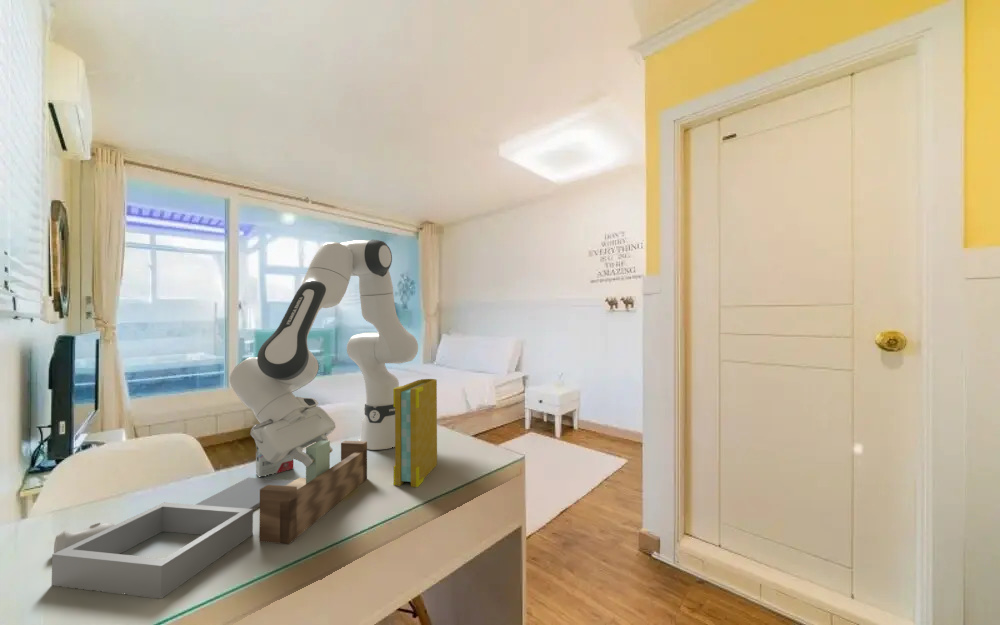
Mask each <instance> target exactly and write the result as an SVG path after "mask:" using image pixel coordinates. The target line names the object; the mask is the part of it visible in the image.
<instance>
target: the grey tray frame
mask: <svg viewBox="0 0 1000 625" xmlns="http://www.w3.org/2000/svg"><path fill="white" fill-rule="evenodd" d="M253 519H254V510H253V509H246V508H233V507H219V506H206V505H195V504H189V503H177V502H176V503H175V502H163V503H160V504H158V505H156V506H153V507H152V508H150V509H147V510H145V511H143V512H140V513H139V514H136V515H134V516H133V517H130V518H128V519H125V520H124V521H121V522H119V523H117V524H115V526H112V527H110V528H108V529H106V530H104V531H102V532H99V533H97V534H95V535H93V536H91V537H89V538H87V539H84V540H82V541H80V542H78V543H76V544H74V545H71V546H69V547H67V548H65V549H63V550H61V551H58V552H56V553H54V552H53V553H52V555H51V586H52V585H54V586H53V587H59V586H62V587H61V588H67V587H71V588H70V589H75V588H78V589H77V590H83V589H84V591H85V590H86V591H92V590H98V591H97V592H100V591H102V592H101V593H109V594H118V595H125V594H129V595H128V596H134V597H140V598H141V597H144V598H151V599H157V598H159V599H158V600H161V599H160V598H162V597H163V598H164V597H166V596H167V595H169V594H170V593H172V592H173V591H175V590H176V589H177V588H179V587H180V586H181V585H183V584H185V583H186V582H187V581H189V580H190V579H192V578H193V577H194V576H196V575H197V574H199V573H200V572H201V571H202V570H204V569H206V568H207V567H208V566H210V565H211V564H212V563H214V562H216V561H217V560H218V559H220V558H221V557H222V556H224V555H225V554H227V553H228V552H230V551H232V549H234V548H235V547H237V546H238V545H239V544H241V543H242V542H244V541H245V540H247V539H248V538H249V537H251V536H252V535H253V528H254V520H253ZM163 532H164V533H165V532H168V533H178V534H179V533H180V534H190V535H199V536H198V537H197V538H196V539H194V540H192V541H190V542H189V543H187V544H186V545H184V546H183V547H181V548H179V549H177V550H176V551H174V552H173V553H170V554H169V555H167V556H166V557H164V558H163V557H162V558H161V557H160V558H158V557H151V556H150V557H149V556H141V555H131V554H122V553H124V552H127V551H128V550H130V549H131V548H133V547H135V546H137V545H139V544H141V543H143V542H145V541H146V540H149V539H150V538H153V537H154V536H157V535H158V534H159V533H163ZM55 585H56V586H55ZM122 593H123V594H122ZM124 593H125V594H124ZM163 598H162V599H163Z"/></svg>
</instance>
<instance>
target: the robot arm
mask: <svg viewBox="0 0 1000 625" xmlns="http://www.w3.org/2000/svg"><path fill="white" fill-rule="evenodd" d="M392 254H393V253H392V251H391V249H390V247H389V245H387V243H386V242H385V241H382V240H379V239H369V240H368V239H354V240H350V241H349V240H348V241H342V242H338V241H337V242H336V241H330V242H325V243H323V244H322V245H321V246H320V247H319V249H318V250H317V252H316V254H315V255H314V256H313V258H312V260H311V262H310V264H309V266H308V269H307V271H306V273H305V276H304V277H303V278H304V279H303V281H302V283H301V285H300V287H299V288H298V290H297V291H296V292H295V294H294V296H293V298H292V299H291V302H290V304H289V305H288V308H287V310H286V312H285V314H284V316H283V317H282V319H281V321H280V323H279V325H278V327H277V329H276V330H275V331H274V332H273V333H272V334H271V336H269V337H268V338H267V339H266V340H265V342H264V343H262V345H261V346H260V348H259V350H258V353H257V356H256V357H255V356H251V357H248V358H245V359H244V360H242V361H241V362H240V363H238V364H237V365H236V366H235V367H234V369H233V370H232V371H231V373H230V376H229V383H230V387H231V388H232V390H233V391H234V393H235V395H236V396H237V397H238V398H239V399H240V401H241V402H242V403H243V404H244V406H245V407H247V408H248V409H250V410H251V411H252V412H253V414H254V417H255V418H256V420H257V421H258V422H259V423H256V424H254V425H253V426H252V428H251V429H250V432H249V433H250V436H251V438H252V439H254V442H255V446H256V445H257V447H258V449H259V450H260V452H261V453H262V455H263V456H264V458H265V459H266V460H267V461H268V462H271V463H275V462H277V461H279V460H281V459H283V458H285V457H287V456H289V455H290V456H291V457H292V458H293V460H295V461H298V462H300V463H302V464H303V465H304V466H305V468H306V467H308V466H310V465H311V464H313V463H314V462H315V458H314V457H313V456H312V455H309V456H308V455H307V454H306V452H304V451H303V450H304V448H305V449H306V447H308V446H310V445H312V444H314V443H316V442H318V441H320V440H321V441H329V438H328V437H329V435H330V434H332V432H333V431H335V429H336V422H335V421H334V420H333V419H332V417H331V416H330V414H328V413H327V411H325V410H324V408H322V407H320V406H318V404H319V402H318V400H317V399H316V398H312V397H301V396H295V395H294V392H295V391H297V390H300V389H301V388H304V387H305V386H306V385H308V384H309V383H311V382H312V381H313V380H314V379H315V378H316V376H317V375H318V373H319V368H320V365H319V361H318V360H317V359H318V358H316V357H315V355H314V354H313V352H311V351H310V349H309V347H308V337H309V333H310V331H311V329H312V327H313V325H314V322H315V321H316V318H317V315H318V313H319V312H320V310H322V308H323V309H330V308H333V307H335V306H338V305H339V304H340V303H341V301H342V300H343V298H344V296H345V295H346V292H347V290H348V286H349V283H350V281H351V277H358V286H359V287H358V290H359V300H360V309H361V316H362V318H363V319H364V320H365V321H366V322H368V323H370V324H371V325H373V327H374V328H375V329H376V331H377V332H376V331H375V332H369V331H368V332H367V331H366V332H361V333H357V334H354V335H352V336H351V337H350V338H349V340H348V341H347V344H346V353H347V355H348V357H349V359H350V360H351V361H352V362H354V363H355V364H356V365H357V366H358V369H359V370H360V373H361V374H362V377H363V380H364V384H365V385H364V386H365V404H364V409H363V411H364V415H365V416H364V417H363V418H362V419H361V425H360V426H361V427H360V435H359V438H357V440H356V441H366V442H367V450H370V451H371V450H372V451H373V450H374V451H375V450H376V451H377V450H387V449H393V448H395V407H393V389H394V388H397V387H399V386H400V382H399V380H398V377H396V376H395V375H394V374H392V373H391V372H390V371H388V369H387V367H386V364H403V363H408V362H412V361H413V360H414V359H415V358H416V356H417V354H418V351H419V344H418V340H417V339H416V336H414V335H413V334H412V333H411V332H409V331H408V330H407V329H406V328H405V327H404V326H403V324H402V322H401V320H400V319H399V316H398V314H397V311H396V310H397V309H396V304H395V295H394V287H393V282H392V277H391V273H390V270H389V269H390V268H391V265H392V262H393V256H392ZM392 447H393V448H392ZM332 452H333V448H332V447H331V446H330V454H331V453H332Z"/></svg>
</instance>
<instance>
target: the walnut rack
mask: <svg viewBox="0 0 1000 625" xmlns="http://www.w3.org/2000/svg"><path fill="white" fill-rule="evenodd" d="M366 480H368V449H367V442H366V441H357V440H344V441H342V442H340V461H339V462H338V463H336V464H335V465H332V466H331V467H330V469H328V470H327V471H325V472H324V473H322V474H321V475H319V476H318V477H316V478H315V479H313V480H312V481H310V482H309V483H307V484H306V485H304V486H302V487H301V488H299V489H298V490H297V487H295V486H279V485H267V486H265V487H263V488H261V489H260V507H259V532H258V533H259V536H258V540H259V543H260V542H261V543H273V544H282V545H290V544H292V542H294V541H295V540H296V539H297V538H298V537H300V536H301V535H302V534H303V533H304V532H306V531H307V530H308V529H309V528H310V527H312V526H313V525H314V524H315V523H316V522H317V521H318V520H320V519H321V518H322V517H323V516H324V515H326V514H327V513H328V512H330V510H331V509H333V508H334V507H335V506H336V505H338V504H339V503H340V502H341V501H342V500H344V499H345V498H346V497H347V496H348V495H349V494H351V493H352V492H353V491H354V490H356V488H358V487H359V486H360V485H361V484H362V483H364V482H365V481H366Z"/></svg>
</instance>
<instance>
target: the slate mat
mask: <svg viewBox="0 0 1000 625" xmlns="http://www.w3.org/2000/svg"><path fill="white" fill-rule="evenodd" d="M294 480H295V479H277V478H264V477H261V478H259V477H247V478H245V479H242V480H241V481H239V482H237V483H235V484H233V485H231V486H228V487H227V488H225V489H223V490H221V491H219V492H218V493H214V494H213V495H211V496H210V497H209V496H208V497H207V498H205V499H203V500H202V501H200V502H198V503H195V504H194V505H206V506H219V507H233V508H246V509H253V511H255V510H257V509H258V508H260V489H261V488H263V487H265V486H267V485H279V486H285V485H287V484H289V483H291V482H293V481H294ZM256 508H257V509H256Z"/></svg>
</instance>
